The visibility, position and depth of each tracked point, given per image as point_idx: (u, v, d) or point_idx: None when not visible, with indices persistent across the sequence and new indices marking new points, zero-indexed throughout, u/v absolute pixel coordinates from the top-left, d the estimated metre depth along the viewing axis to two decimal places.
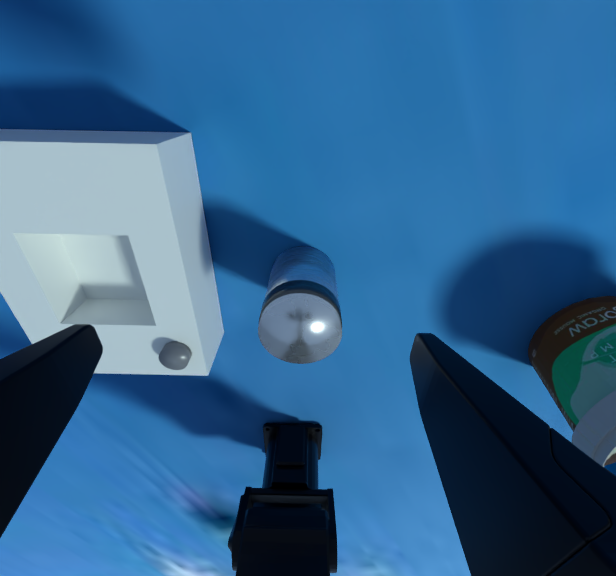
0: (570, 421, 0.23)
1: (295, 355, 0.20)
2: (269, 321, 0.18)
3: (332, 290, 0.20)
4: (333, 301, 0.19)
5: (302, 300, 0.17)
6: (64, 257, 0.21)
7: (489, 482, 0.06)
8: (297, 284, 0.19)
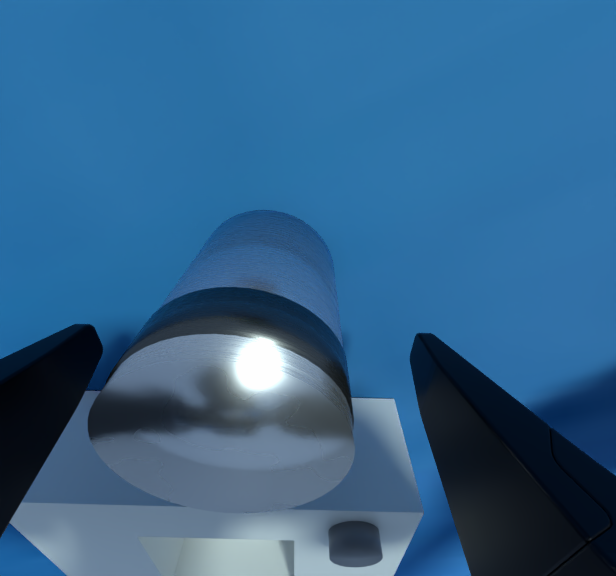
0: None
1: (317, 464, 0.06)
2: (194, 498, 0.07)
3: (173, 294, 0.07)
4: (140, 336, 0.06)
5: (102, 443, 0.06)
6: None
7: (489, 482, 0.05)
8: None
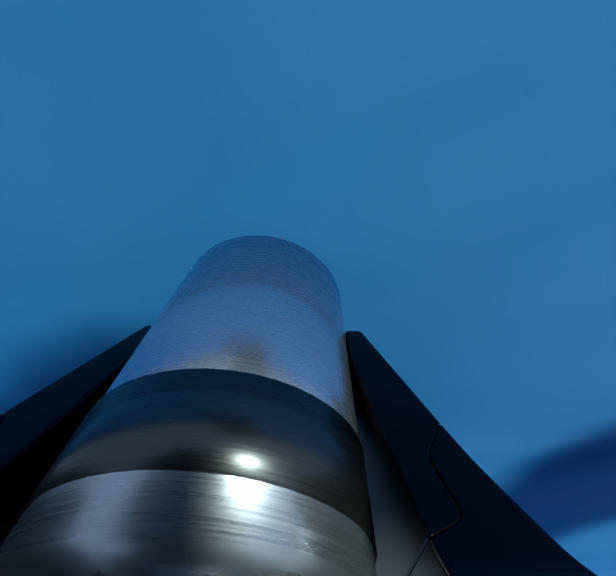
0: None
1: None
2: None
3: (130, 367, 0.05)
4: (69, 449, 0.04)
5: None
6: None
7: (380, 479, 0.05)
8: None
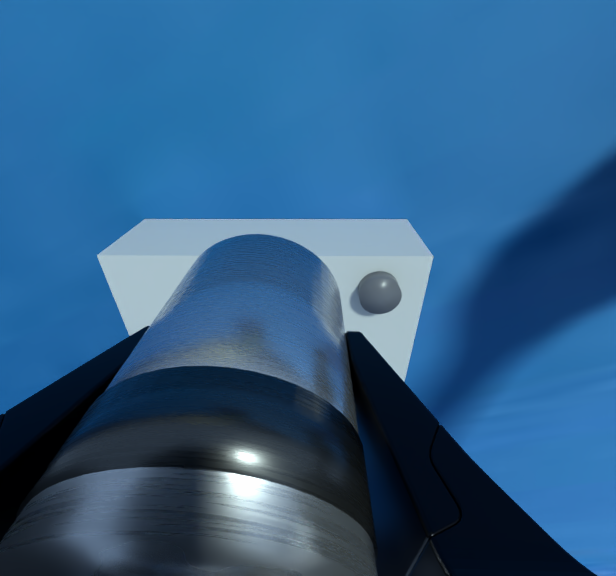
0: None
1: None
2: None
3: (129, 365, 0.05)
4: (68, 446, 0.04)
5: None
6: None
7: (380, 479, 0.05)
8: None
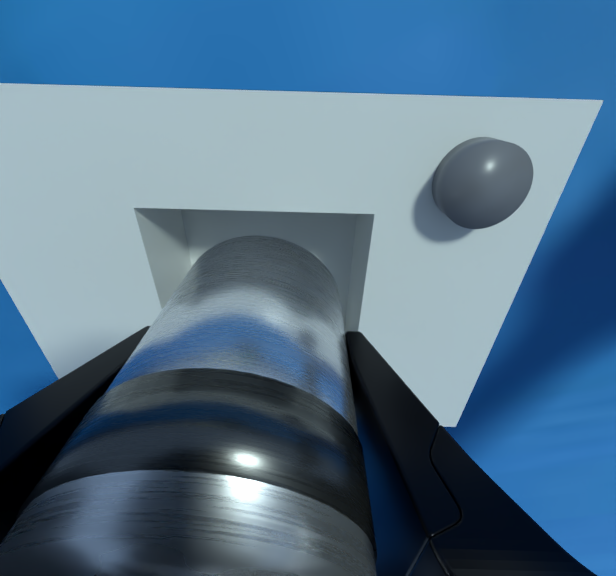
0: None
1: None
2: None
3: (129, 367, 0.05)
4: (67, 449, 0.04)
5: None
6: None
7: (380, 479, 0.05)
8: None
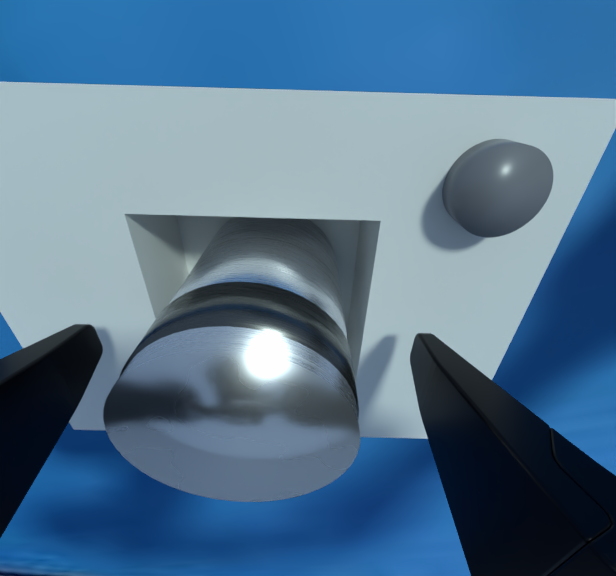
0: None
1: (324, 453, 0.06)
2: (204, 486, 0.07)
3: (183, 289, 0.07)
4: (153, 328, 0.06)
5: (116, 432, 0.06)
6: None
7: (489, 482, 0.05)
8: None
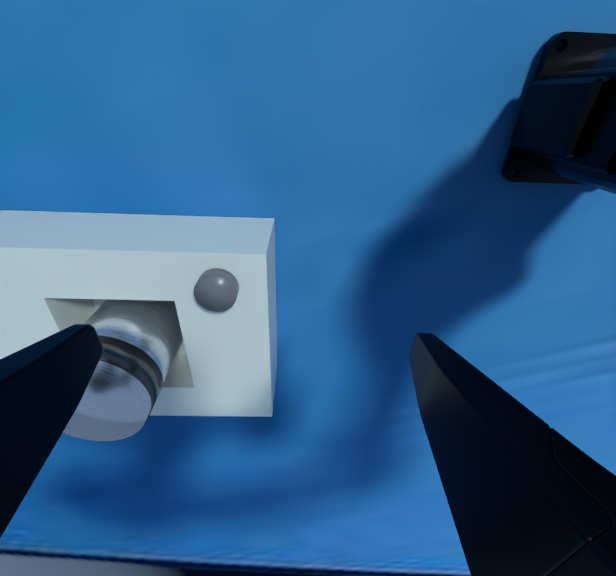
0: None
1: (130, 412, 0.14)
2: (80, 432, 0.15)
3: None
4: None
5: None
6: None
7: (489, 482, 0.05)
8: None
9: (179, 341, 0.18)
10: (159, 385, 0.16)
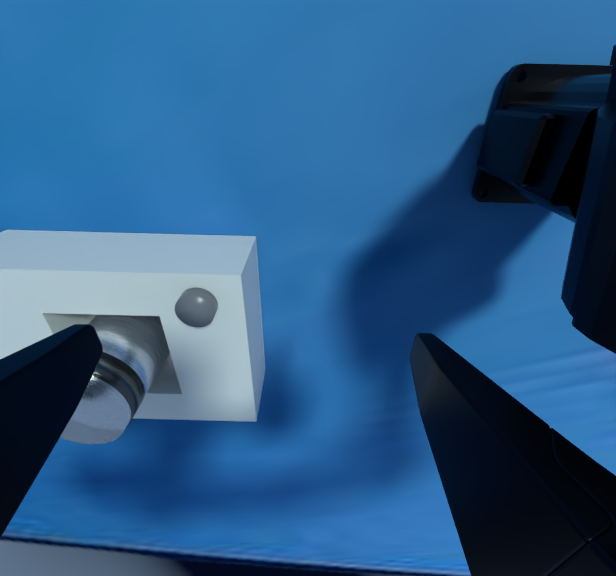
0: None
1: (110, 420, 0.16)
2: (67, 434, 0.16)
3: None
4: None
5: None
6: None
7: (489, 482, 0.05)
8: None
9: (165, 353, 0.20)
10: (140, 395, 0.17)
